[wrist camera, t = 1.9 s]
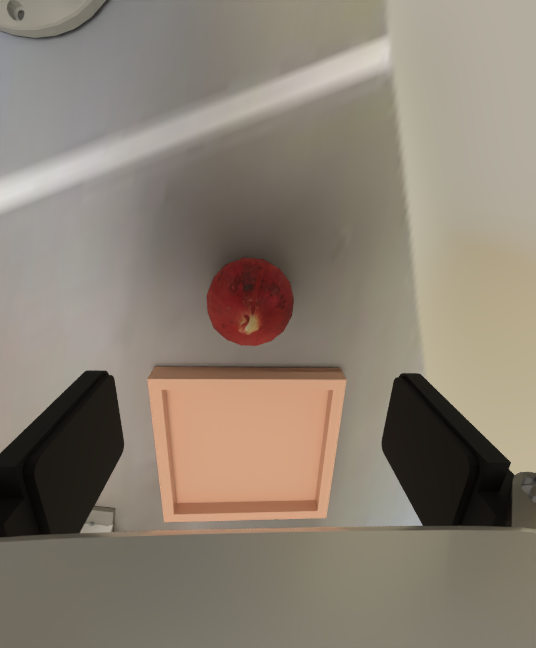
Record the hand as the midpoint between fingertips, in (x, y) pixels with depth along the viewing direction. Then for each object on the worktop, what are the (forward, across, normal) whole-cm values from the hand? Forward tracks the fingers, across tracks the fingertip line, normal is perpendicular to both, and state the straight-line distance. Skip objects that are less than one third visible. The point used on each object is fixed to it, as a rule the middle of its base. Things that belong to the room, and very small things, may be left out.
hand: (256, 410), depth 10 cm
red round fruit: (+15, 0, 0) cm, 15 cm away
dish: (+15, 0, +14) cm, 21 cm away
